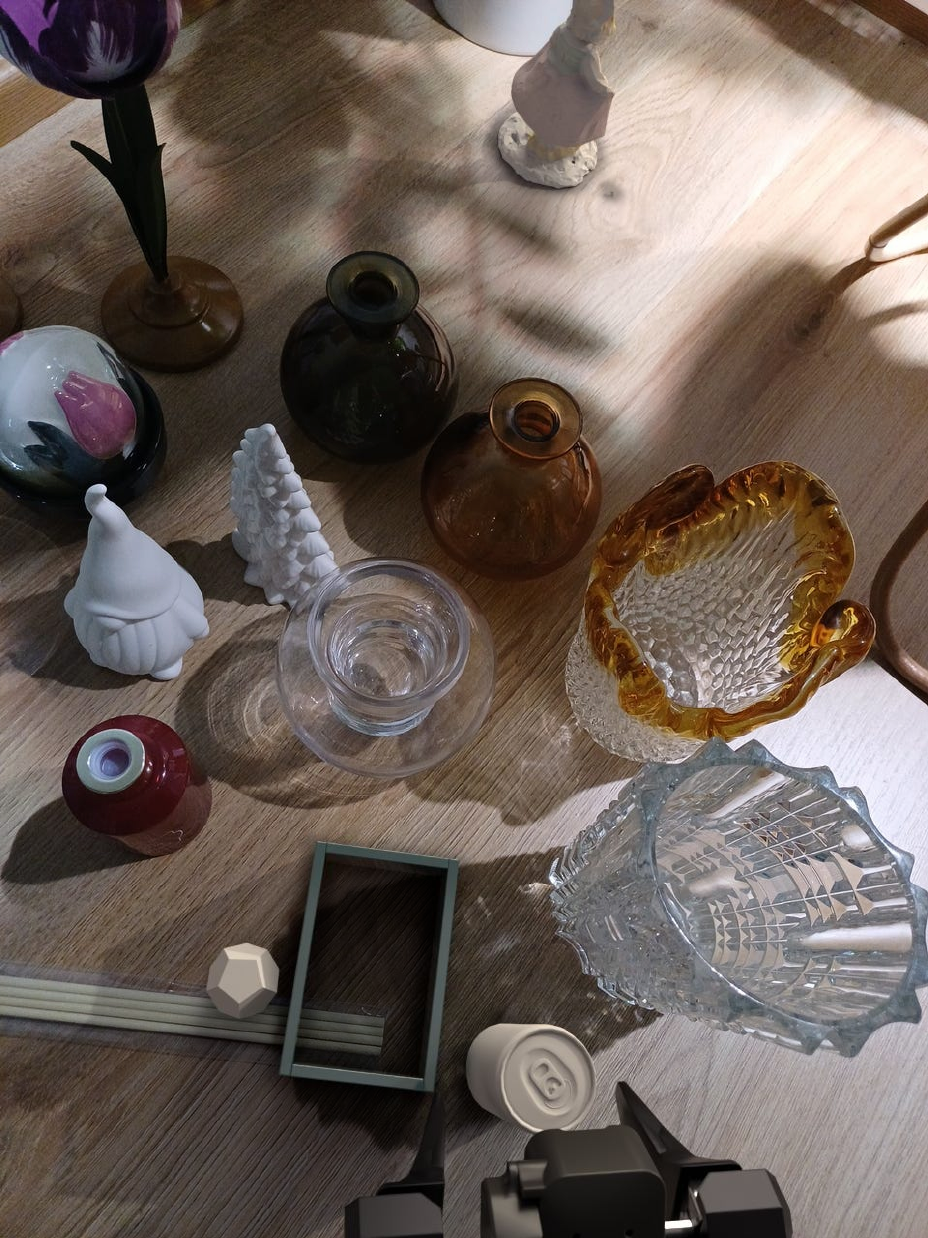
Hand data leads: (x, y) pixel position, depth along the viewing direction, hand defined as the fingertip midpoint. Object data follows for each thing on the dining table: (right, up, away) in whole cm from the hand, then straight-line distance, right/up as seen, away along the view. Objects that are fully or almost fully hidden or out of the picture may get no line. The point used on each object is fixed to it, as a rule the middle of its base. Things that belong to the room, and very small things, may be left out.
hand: (529, 1092), depth 52 cm
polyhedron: (-16, +3, +7) cm, 18 cm away
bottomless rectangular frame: (-9, +4, +8) cm, 13 cm away
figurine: (+5, +61, +32) cm, 69 cm away
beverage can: (-1, -2, +7) cm, 8 cm away
